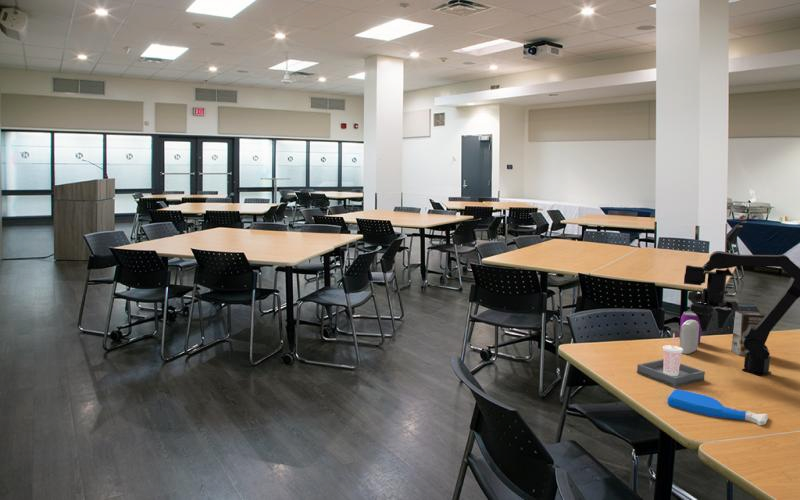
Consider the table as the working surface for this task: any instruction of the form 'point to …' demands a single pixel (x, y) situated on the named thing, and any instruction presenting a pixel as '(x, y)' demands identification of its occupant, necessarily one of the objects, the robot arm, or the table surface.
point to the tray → (656, 373)
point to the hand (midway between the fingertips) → (712, 329)
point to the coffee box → (743, 329)
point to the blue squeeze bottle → (710, 407)
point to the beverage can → (690, 316)
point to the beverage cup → (672, 359)
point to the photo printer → (689, 336)
